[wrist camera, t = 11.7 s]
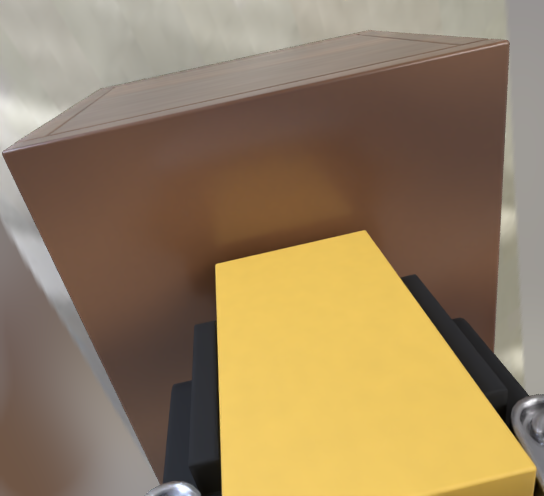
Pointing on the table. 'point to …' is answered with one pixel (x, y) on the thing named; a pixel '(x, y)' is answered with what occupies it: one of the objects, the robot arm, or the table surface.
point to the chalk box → (348, 384)
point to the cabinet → (267, 188)
